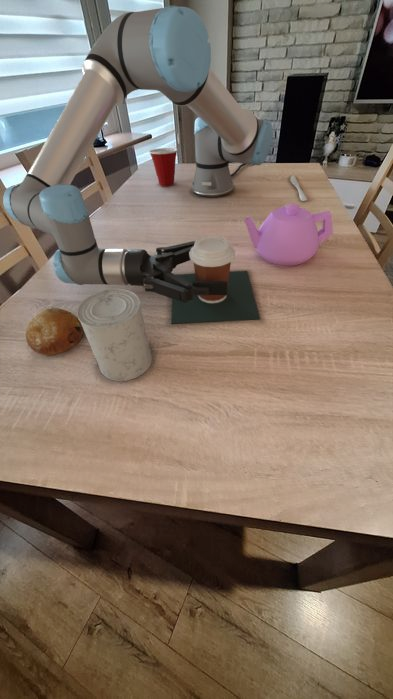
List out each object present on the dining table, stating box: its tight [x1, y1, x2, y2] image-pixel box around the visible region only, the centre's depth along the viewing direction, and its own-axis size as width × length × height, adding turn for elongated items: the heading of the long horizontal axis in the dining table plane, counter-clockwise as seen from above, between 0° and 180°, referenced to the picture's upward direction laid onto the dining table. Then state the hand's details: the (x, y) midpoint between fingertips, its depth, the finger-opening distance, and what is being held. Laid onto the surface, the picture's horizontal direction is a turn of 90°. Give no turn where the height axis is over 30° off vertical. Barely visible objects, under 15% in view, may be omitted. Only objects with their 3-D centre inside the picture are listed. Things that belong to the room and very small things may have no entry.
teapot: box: [243, 202, 334, 267], centre depth 74 cm, size 22×16×12 cm
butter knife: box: [289, 175, 308, 202], centre depth 111 cm, size 1×27×3 cm
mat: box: [170, 270, 261, 325], centre depth 67 cm, size 18×18×1 cm
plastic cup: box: [148, 147, 178, 187], centre depth 117 cm, size 11×11×12 cm
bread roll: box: [25, 306, 84, 356], centre depth 58 cm, size 10×10×8 cm
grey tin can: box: [76, 288, 153, 382], centre depth 50 cm, size 10×10×12 cm
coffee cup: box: [189, 235, 236, 303], centre depth 63 cm, size 9×9×12 cm
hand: (228, 269), depth 62 cm, fingers open, 13 cm apart
